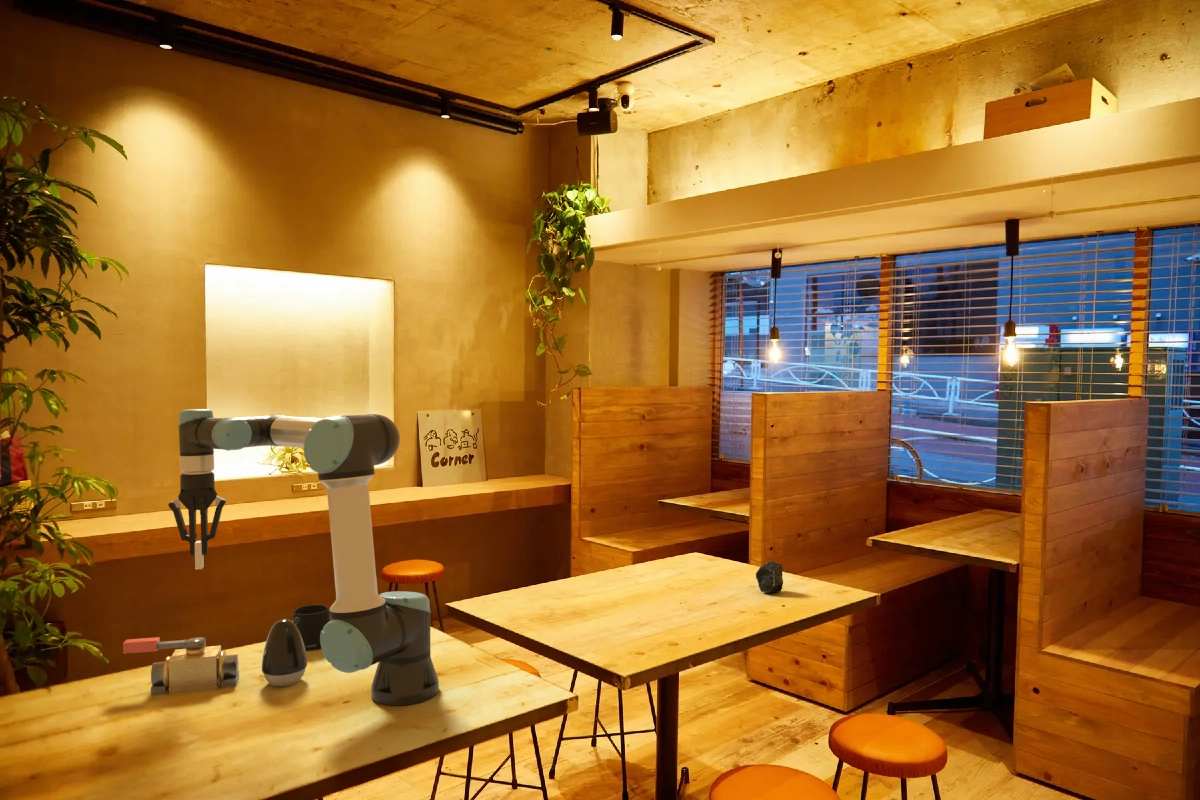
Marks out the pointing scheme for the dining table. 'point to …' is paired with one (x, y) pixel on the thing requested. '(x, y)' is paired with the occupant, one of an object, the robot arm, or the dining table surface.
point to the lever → (160, 644)
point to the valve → (194, 671)
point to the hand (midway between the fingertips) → (199, 568)
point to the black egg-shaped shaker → (284, 654)
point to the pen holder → (311, 624)
